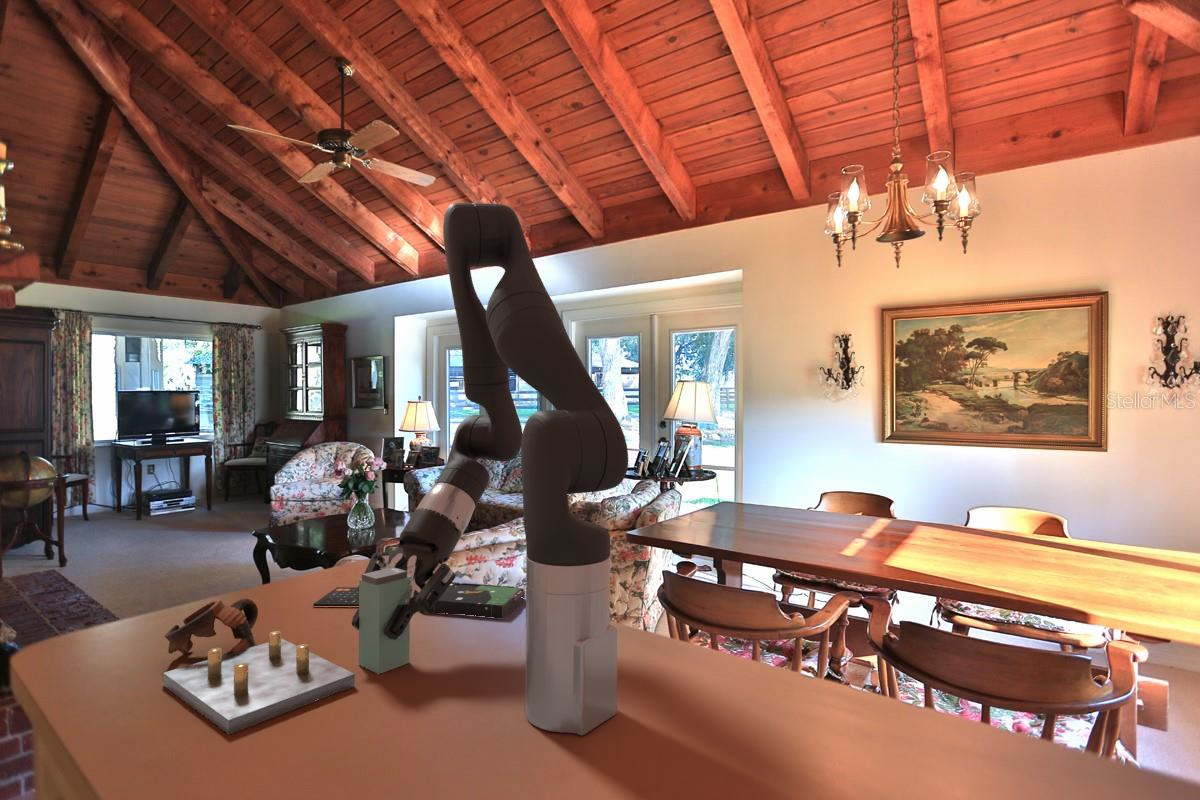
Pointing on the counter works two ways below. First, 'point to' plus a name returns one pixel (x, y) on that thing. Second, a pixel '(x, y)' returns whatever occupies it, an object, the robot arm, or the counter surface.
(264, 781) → the counter surface
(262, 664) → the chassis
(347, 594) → the calculator
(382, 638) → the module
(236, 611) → the pottery mug
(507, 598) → the disk drive
